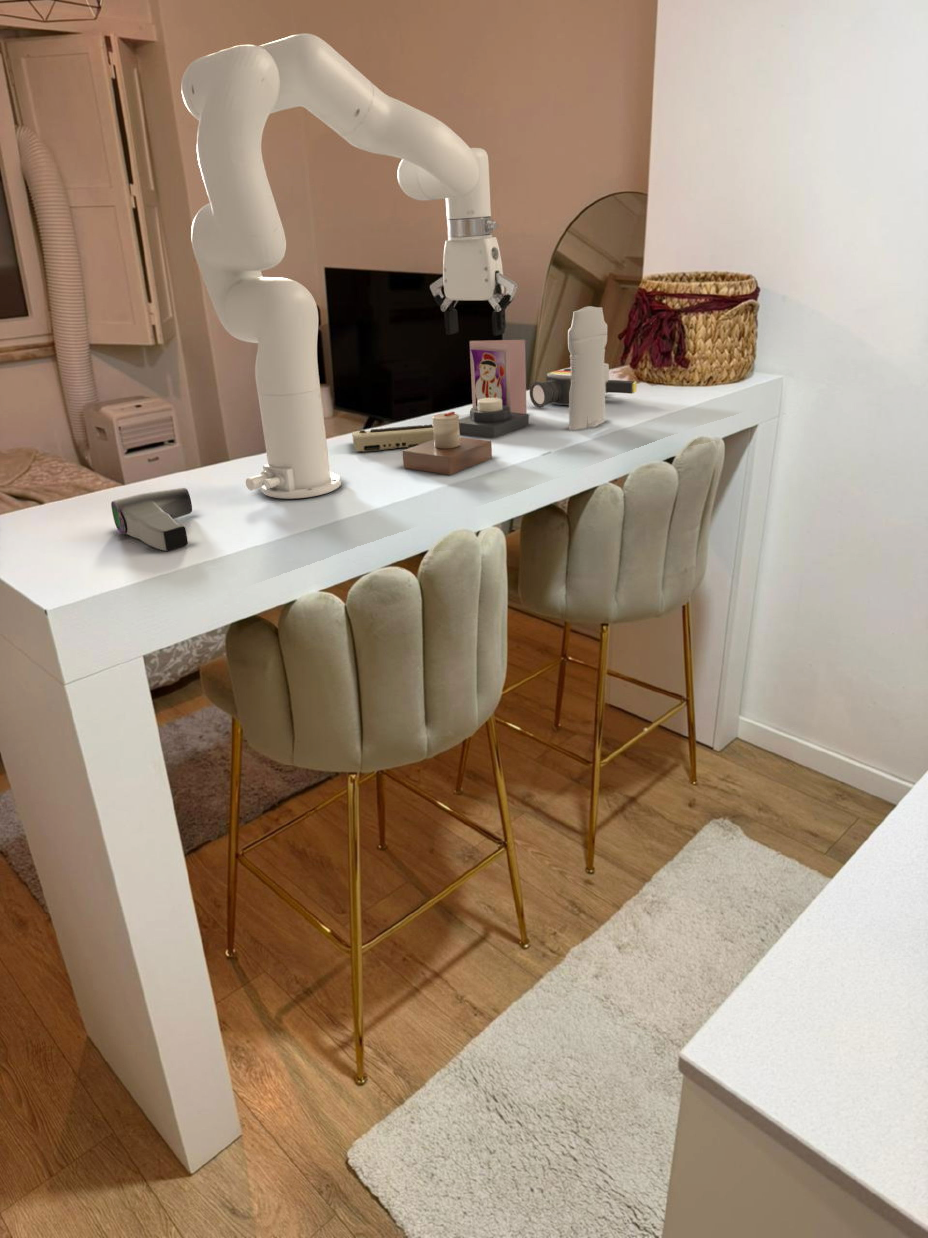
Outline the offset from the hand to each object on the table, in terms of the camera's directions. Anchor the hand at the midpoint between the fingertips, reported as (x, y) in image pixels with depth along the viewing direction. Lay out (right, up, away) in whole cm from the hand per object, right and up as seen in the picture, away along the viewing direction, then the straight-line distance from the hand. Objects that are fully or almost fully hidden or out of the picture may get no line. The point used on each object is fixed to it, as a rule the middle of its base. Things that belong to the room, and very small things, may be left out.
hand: (475, 333), depth 159 cm
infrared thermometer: (-43, -39, -33) cm, 67 cm away
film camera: (+24, -5, +32) cm, 40 cm away
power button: (+3, -11, +13) cm, 17 cm away
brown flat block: (-5, -24, -7) cm, 26 cm away
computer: (-15, -19, +7) cm, 25 cm away
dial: (-5, -22, -8) cm, 24 cm away
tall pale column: (+22, -14, +14) cm, 29 cm away
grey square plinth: (+3, -14, +15) cm, 21 cm away
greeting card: (+6, -9, +26) cm, 28 cm away
